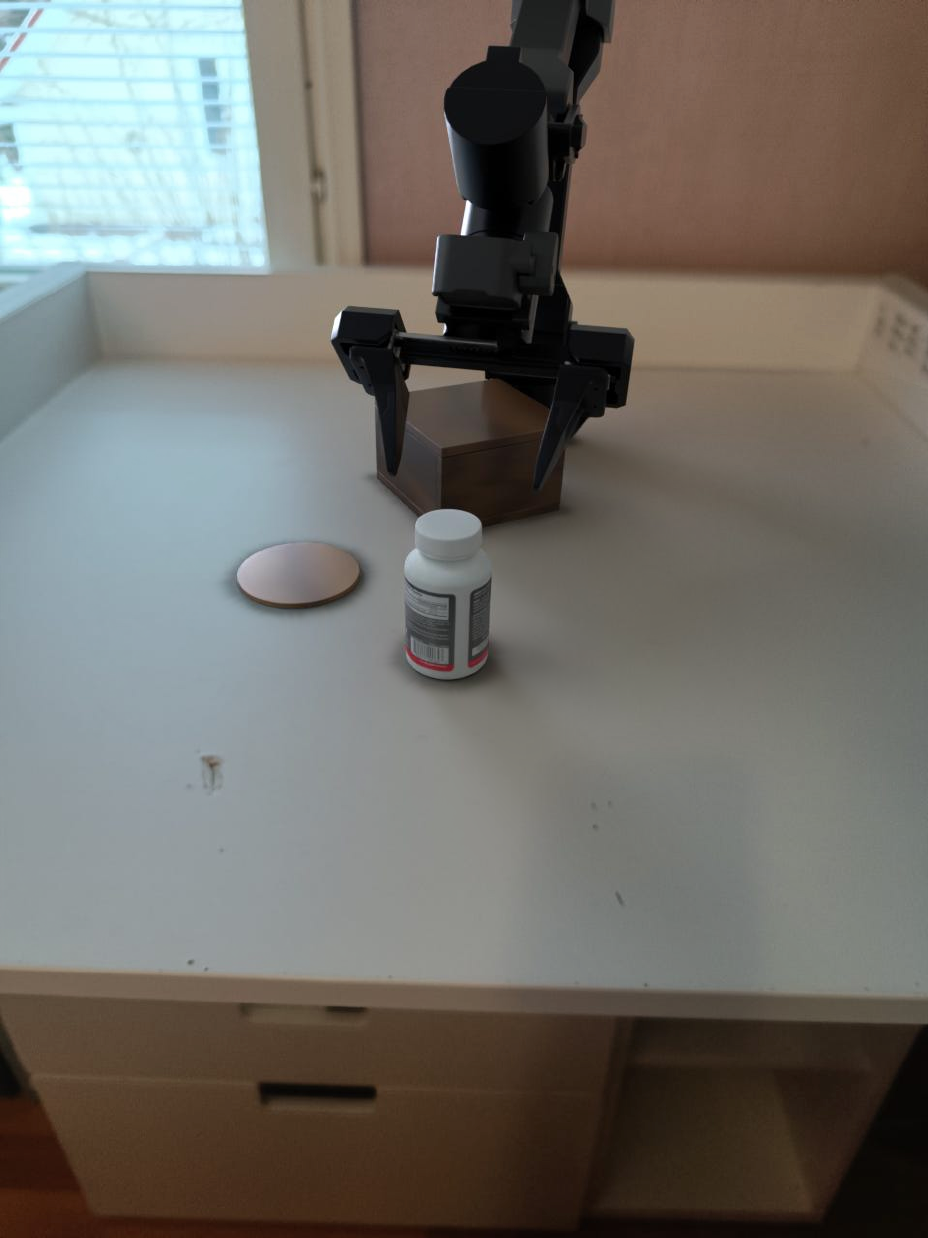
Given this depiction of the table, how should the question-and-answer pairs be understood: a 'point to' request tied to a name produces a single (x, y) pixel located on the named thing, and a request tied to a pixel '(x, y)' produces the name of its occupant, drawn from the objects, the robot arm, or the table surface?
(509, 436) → the chest lid
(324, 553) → the coaster
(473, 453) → the chest
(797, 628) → the table surface
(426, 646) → the pill bottle
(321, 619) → the table surface
